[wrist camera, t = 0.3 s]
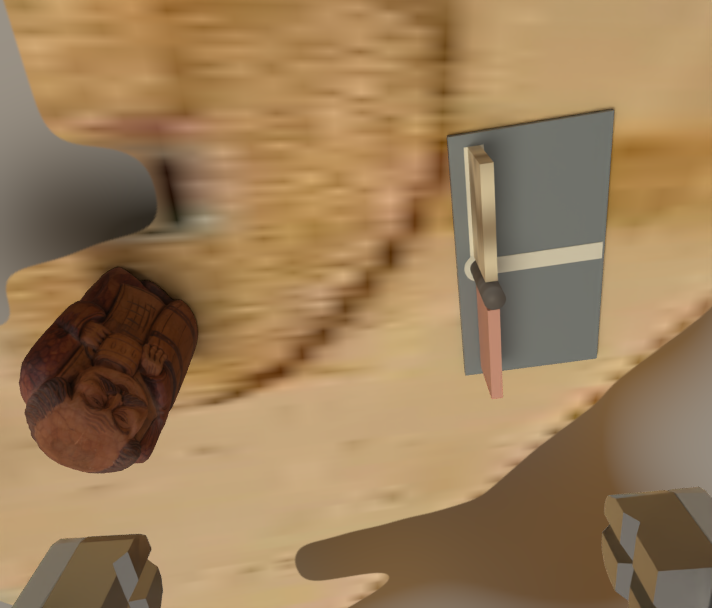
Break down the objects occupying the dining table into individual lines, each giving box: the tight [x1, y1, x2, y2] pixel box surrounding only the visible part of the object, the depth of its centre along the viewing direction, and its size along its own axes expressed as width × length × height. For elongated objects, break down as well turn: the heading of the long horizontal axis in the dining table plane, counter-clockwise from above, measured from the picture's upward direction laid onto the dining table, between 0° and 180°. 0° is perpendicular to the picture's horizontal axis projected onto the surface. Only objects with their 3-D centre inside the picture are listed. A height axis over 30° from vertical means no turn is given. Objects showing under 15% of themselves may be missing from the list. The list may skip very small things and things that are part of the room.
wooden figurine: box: [19, 267, 198, 473], centre depth 45 cm, size 12×6×18 cm, turn 48°
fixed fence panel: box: [468, 145, 506, 310], centre depth 45 cm, size 12×2×6 cm, turn 9°
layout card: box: [447, 109, 614, 375], centre depth 50 cm, size 24×13×1 cm, turn 9°
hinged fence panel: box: [476, 286, 503, 399], centre depth 51 cm, size 10×1×5 cm, turn 9°
